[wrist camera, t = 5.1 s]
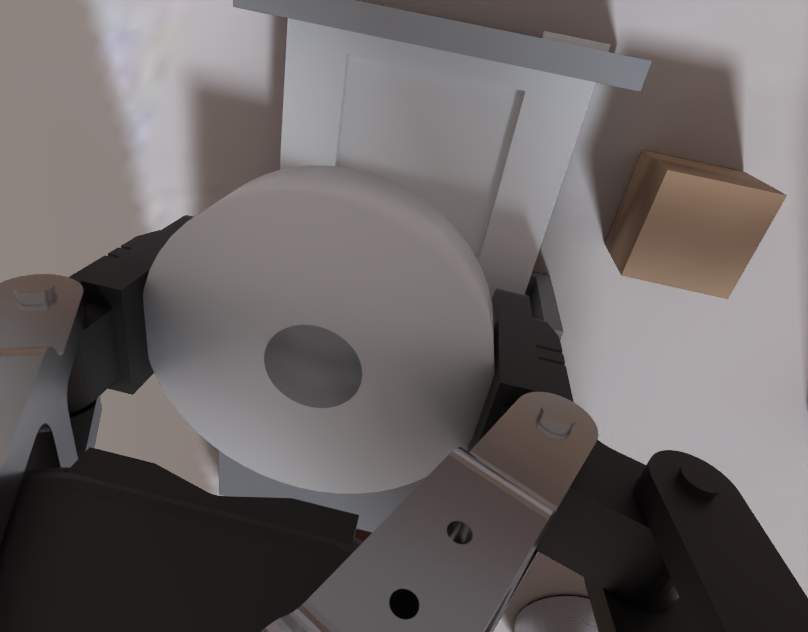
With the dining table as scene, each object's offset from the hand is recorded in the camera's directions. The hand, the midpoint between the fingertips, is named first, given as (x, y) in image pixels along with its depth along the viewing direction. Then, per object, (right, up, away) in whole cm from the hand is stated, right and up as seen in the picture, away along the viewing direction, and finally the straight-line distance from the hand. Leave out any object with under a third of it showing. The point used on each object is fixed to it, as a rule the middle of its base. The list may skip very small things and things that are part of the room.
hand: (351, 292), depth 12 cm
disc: (0, -1, -1) cm, 1 cm away
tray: (+2, +5, +15) cm, 16 cm away
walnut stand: (+14, +5, +13) cm, 20 cm away
